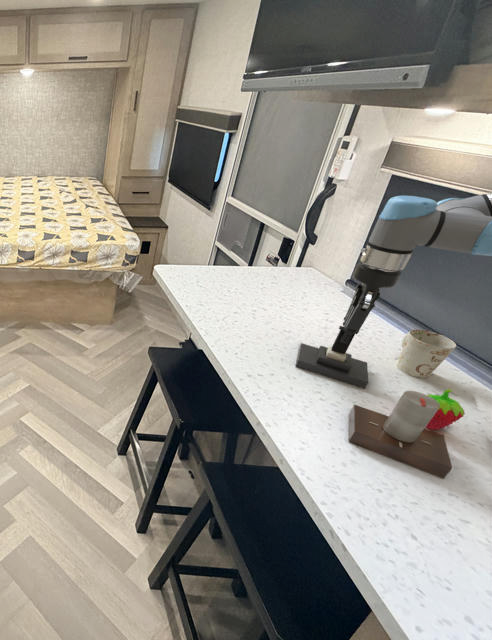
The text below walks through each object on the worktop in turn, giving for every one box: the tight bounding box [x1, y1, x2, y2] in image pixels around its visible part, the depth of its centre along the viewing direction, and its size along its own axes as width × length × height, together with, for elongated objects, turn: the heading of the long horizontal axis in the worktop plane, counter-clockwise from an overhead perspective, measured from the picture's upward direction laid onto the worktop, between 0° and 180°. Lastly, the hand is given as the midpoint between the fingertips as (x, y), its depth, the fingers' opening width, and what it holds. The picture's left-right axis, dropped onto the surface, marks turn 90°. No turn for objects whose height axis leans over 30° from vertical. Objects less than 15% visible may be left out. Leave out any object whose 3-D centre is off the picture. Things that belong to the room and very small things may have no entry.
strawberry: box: [425, 388, 466, 431], centre depth 83 cm, size 6×7×10 cm
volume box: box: [348, 404, 453, 479], centre depth 81 cm, size 14×10×3 cm
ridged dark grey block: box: [294, 342, 369, 390], centre depth 103 cm, size 14×10×4 cm
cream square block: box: [326, 345, 347, 362], centre depth 101 cm, size 4×4×2 cm
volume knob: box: [383, 390, 440, 443], centre depth 78 cm, size 5×5×9 cm
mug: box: [396, 329, 457, 379], centre depth 102 cm, size 8×13×10 cm, turn 163°
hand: (338, 350), depth 101 cm, fingers closed
